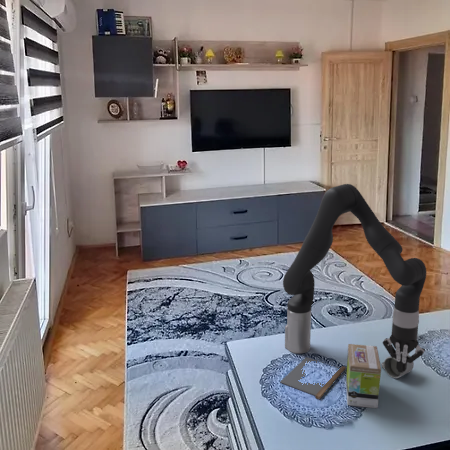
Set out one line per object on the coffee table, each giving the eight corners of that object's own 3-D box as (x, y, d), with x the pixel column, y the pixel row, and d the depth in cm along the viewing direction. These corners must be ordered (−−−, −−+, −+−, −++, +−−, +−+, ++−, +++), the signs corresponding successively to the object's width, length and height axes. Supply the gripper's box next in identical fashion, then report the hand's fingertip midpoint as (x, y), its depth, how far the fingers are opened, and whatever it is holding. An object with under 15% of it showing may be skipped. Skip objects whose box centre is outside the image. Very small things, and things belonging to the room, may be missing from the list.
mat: (279, 382, 174) (279, 381, 174) (306, 357, 189) (306, 356, 189) (315, 396, 166) (315, 395, 166) (340, 369, 181) (340, 368, 181)
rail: (315, 398, 165) (315, 395, 165) (342, 368, 182) (342, 365, 182) (319, 399, 164) (319, 396, 164) (345, 369, 181) (345, 367, 181)
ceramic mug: (414, 374, 177) (416, 355, 175) (400, 382, 173) (402, 362, 171) (389, 362, 185) (390, 343, 184) (375, 369, 181) (376, 350, 179)
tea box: (378, 409, 159) (381, 368, 155) (346, 406, 161) (348, 366, 157) (374, 382, 173) (377, 345, 169) (345, 380, 175) (347, 342, 171)
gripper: (379, 320, 152) (376, 370, 157) (424, 332, 145) (419, 383, 149) (388, 311, 158) (384, 359, 163) (431, 322, 150) (426, 372, 155)
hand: (401, 371), depth 156 cm, fingers closed
